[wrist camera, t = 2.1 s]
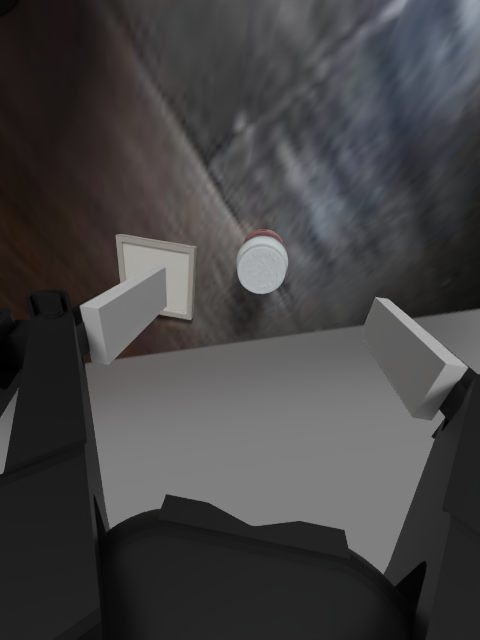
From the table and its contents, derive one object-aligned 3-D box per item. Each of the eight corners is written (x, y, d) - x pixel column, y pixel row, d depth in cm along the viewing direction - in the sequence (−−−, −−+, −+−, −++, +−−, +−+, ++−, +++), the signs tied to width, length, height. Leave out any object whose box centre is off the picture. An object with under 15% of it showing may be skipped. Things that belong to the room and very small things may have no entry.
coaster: (127, 304, 42) (122, 307, 41) (120, 233, 37) (115, 235, 35) (193, 316, 42) (191, 320, 40) (197, 246, 36) (194, 248, 35)
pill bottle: (237, 237, 35) (223, 252, 25) (278, 222, 33) (281, 232, 23) (250, 276, 37) (242, 305, 27) (289, 264, 36) (296, 289, 26)
